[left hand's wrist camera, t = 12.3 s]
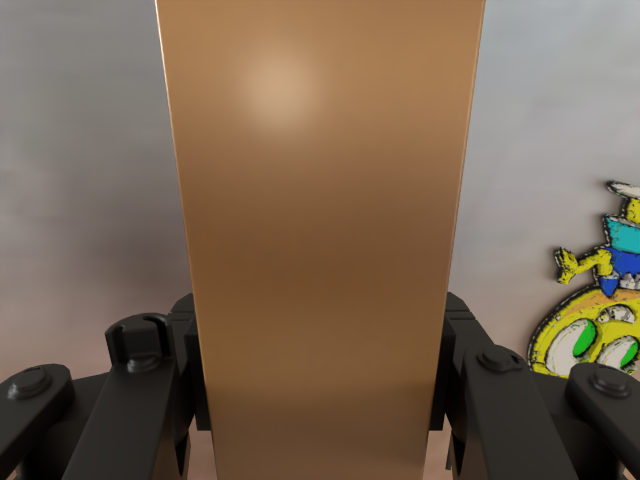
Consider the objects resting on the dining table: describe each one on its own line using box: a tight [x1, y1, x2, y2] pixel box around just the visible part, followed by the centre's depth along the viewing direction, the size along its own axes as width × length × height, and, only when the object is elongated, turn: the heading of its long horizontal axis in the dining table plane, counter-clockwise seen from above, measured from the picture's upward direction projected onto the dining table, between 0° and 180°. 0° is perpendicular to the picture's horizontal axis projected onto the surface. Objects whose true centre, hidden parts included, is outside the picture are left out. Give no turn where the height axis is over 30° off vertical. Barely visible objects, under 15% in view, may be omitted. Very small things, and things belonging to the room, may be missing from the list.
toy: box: [528, 180, 640, 378], centre depth 23 cm, size 10×1×15 cm
